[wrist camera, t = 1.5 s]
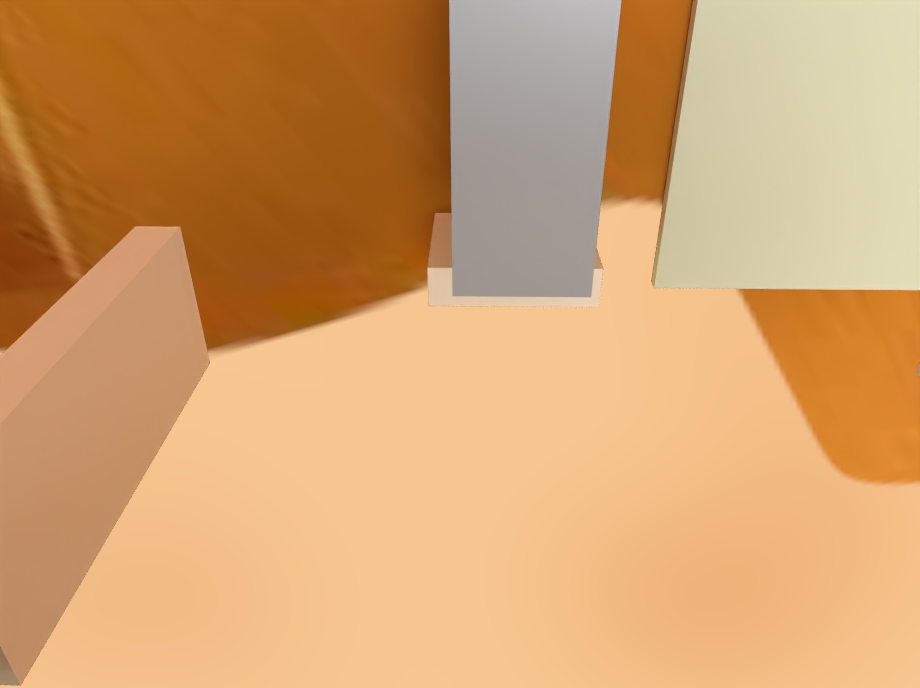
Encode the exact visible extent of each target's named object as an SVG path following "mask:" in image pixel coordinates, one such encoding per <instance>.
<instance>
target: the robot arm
mask: <svg viewBox="0 0 920 688" xmlns="http://www.w3.org/2000/svg"><path fill="white" fill-rule="evenodd" d="M209 364H210V361H209V356H208V352H207V347H206V343H205V338H204V333H203V329H202V324H201V320H200V315H199V310H198V306H197V301H196V297H195V292H194V288H193V283H192V278H191V274H190V269H189V265H188V260H187V256H186V251H185V246H184V242H183V237H182V233H181V228H180V227H155V226H135V227H134V228H133V229H132V230H131V231H130V232H129V233H128V234H127V235H126V236H125V237H124V238H123V239H122V240H121V241H120V242H119V243H118V244H117V245H116V246H115V247H114V248H112V249H111V250H110V251H109V252H108V253H107V254H106V255H105V256H104V257H103V258H102V259H101V260H100V261H99V262H98V263H97V264H96V265H95V266H94V267H93V268H92V269H91V270H89V271H88V272H87V273H86V274H85V275H84V276H83V277H82V278H81V279H80V280H79V281H78V282H77V283H76V284H75V285H74V286H73V287H72V288H71V289H70V290H69V291H68V292H67V293H65V294H64V295H63V296H62V297H61V298H60V299H59V300H58V301H57V302H56V303H55V304H54V305H53V306H52V307H51V308H50V309H49V310H48V311H47V312H46V313H45V314H44V315H42V316H41V317H40V318H39V319H38V320H37V321H36V322H35V323H34V324H33V325H32V326H31V327H30V328H29V329H28V330H27V331H26V332H25V333H24V334H23V335H22V336H21V337H19V338H18V339H17V340H16V341H15V342H14V343H13V344H12V345H11V346H10V347H9V348H8V349H7V350H6V351H5V352H4V353H3V354H2V355H1V356H0V685H21V684H22V683H23V681H24V679H25V677H26V676H27V674H28V672H29V670H30V669H31V667H32V666H33V664H34V662H35V660H36V659H37V657H38V655H39V654H40V652H41V650H42V648H43V647H44V645H45V643H46V642H47V640H48V638H49V637H50V635H51V633H52V631H53V630H54V628H55V626H56V625H57V623H58V621H59V619H60V618H61V616H62V614H63V613H64V611H65V609H66V607H67V606H68V604H69V602H70V601H71V599H72V597H73V596H74V594H75V592H76V590H77V589H78V587H79V585H80V584H81V582H82V580H83V579H84V577H85V575H86V573H87V572H88V570H89V568H90V566H91V565H92V563H93V561H94V560H95V558H96V556H97V555H98V553H99V551H100V549H101V548H102V546H103V544H104V543H105V541H106V539H107V538H108V536H109V534H110V532H111V531H112V529H113V527H114V526H115V524H116V522H117V521H118V519H119V517H120V515H121V514H122V512H123V510H124V509H125V507H126V505H127V503H128V502H129V500H130V498H131V497H132V495H133V493H134V492H135V490H136V488H137V486H138V485H139V483H140V481H141V480H142V478H143V476H144V474H145V473H146V471H147V469H148V468H149V466H150V464H151V463H152V461H153V459H154V457H155V456H156V454H157V452H158V451H159V449H160V447H161V445H162V444H163V442H164V440H165V439H166V437H167V435H168V434H169V432H170V430H171V428H172V427H173V425H174V423H175V422H176V420H177V418H178V416H179V415H180V413H181V411H182V410H183V408H184V406H185V405H186V403H187V401H188V399H189V397H190V396H191V394H192V393H193V391H194V389H195V388H196V386H197V384H198V382H199V381H200V379H201V377H202V376H203V374H204V372H205V370H206V369H207V367H208V365H209ZM916 373H917V375H918V376H919V377H920V363H919V366H918V368H917V371H916Z"/></svg>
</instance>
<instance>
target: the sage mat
mask: <svg viewBox="0 0 920 688" xmlns="http://www.w3.org/2000/svg"><path fill="white" fill-rule="evenodd" d="M651 282H652V284H653V286H654V288H710V289H715V288H717V289H718V288H719V289H720V288H721V289H849V290H920V0H693V4H692V11H691V18H690V24H689V31H688V38H687V44H686V51H685V58H684V65H683V71H682V78H681V85H680V92H679V98H678V105H677V112H676V119H675V125H674V132H673V139H672V145H671V152H670V159H669V166H668V172H667V179H666V186H665V193H664V199H663V206H662V213H661V220H660V227H659V233H658V241H657V247H656V254H655V260H654V267H653V273H652V280H651Z"/></svg>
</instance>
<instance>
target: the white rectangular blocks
mask: <svg viewBox="0 0 920 688" xmlns="http://www.w3.org/2000/svg"><path fill="white" fill-rule="evenodd" d="M427 272H428V303H429V306H478V307H479V306H480V307H482V306H484V307H489V306H490V307H599V303H600V295H601V285H602V276H603V266H602V263H601V260H600V257H599V254H598V251H597V248H596V254H595V264H594V274H593V284H592V294H591V297H479V296H452V213H435V217H434V224H433V231H432V238H431V245H430V252H429V260H428V267H427Z"/></svg>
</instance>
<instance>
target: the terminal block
mask: <svg viewBox="0 0 920 688" xmlns="http://www.w3.org/2000/svg"><path fill="white" fill-rule="evenodd" d="M620 8H621V0H449V27H450V118H451V209H452V296H479V297H591V294H592V284H593V274H594V264H595V254H596V245H597V235H598V225H599V215H600V205H601V195H602V185H603V176H604V166H605V156H606V146H607V136H608V126H609V116H610V107H611V97H612V87H613V77H614V67H615V57H616V48H617V38H618V28H619V18H620Z"/></svg>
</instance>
